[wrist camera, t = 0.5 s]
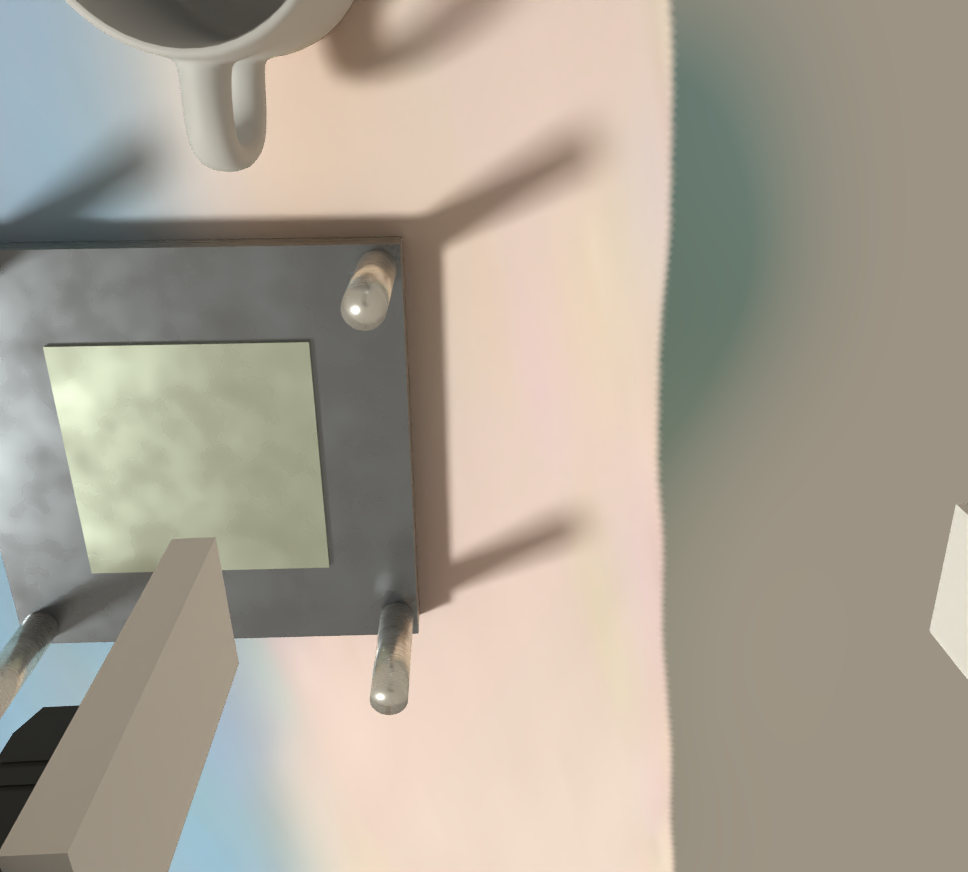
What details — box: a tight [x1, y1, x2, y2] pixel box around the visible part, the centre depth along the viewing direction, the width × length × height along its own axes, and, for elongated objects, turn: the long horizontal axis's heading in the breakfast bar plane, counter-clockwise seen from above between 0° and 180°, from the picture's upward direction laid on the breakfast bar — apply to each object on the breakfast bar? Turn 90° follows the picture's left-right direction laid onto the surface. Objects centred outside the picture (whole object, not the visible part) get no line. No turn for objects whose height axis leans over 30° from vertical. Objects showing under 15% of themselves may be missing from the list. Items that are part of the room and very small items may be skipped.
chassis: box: [0, 237, 419, 718], centre depth 38 cm, size 19×19×8 cm
